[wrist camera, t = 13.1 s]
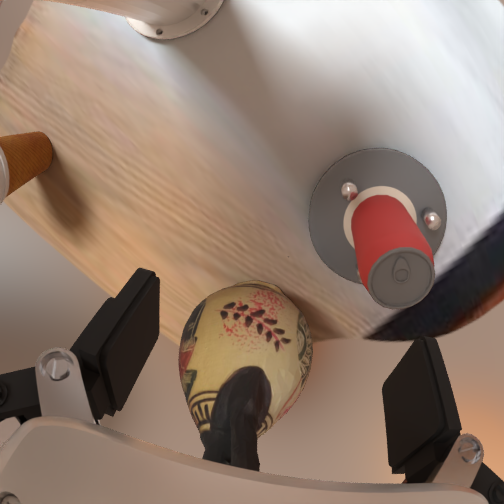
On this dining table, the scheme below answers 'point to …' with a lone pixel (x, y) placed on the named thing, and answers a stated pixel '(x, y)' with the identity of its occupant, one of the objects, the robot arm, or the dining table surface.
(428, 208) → the steel pins
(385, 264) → the beer can
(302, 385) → the ceramic jug
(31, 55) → the dining table surface
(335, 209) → the pin plate
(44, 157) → the disposable coffee cup
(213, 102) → the dining table surface
